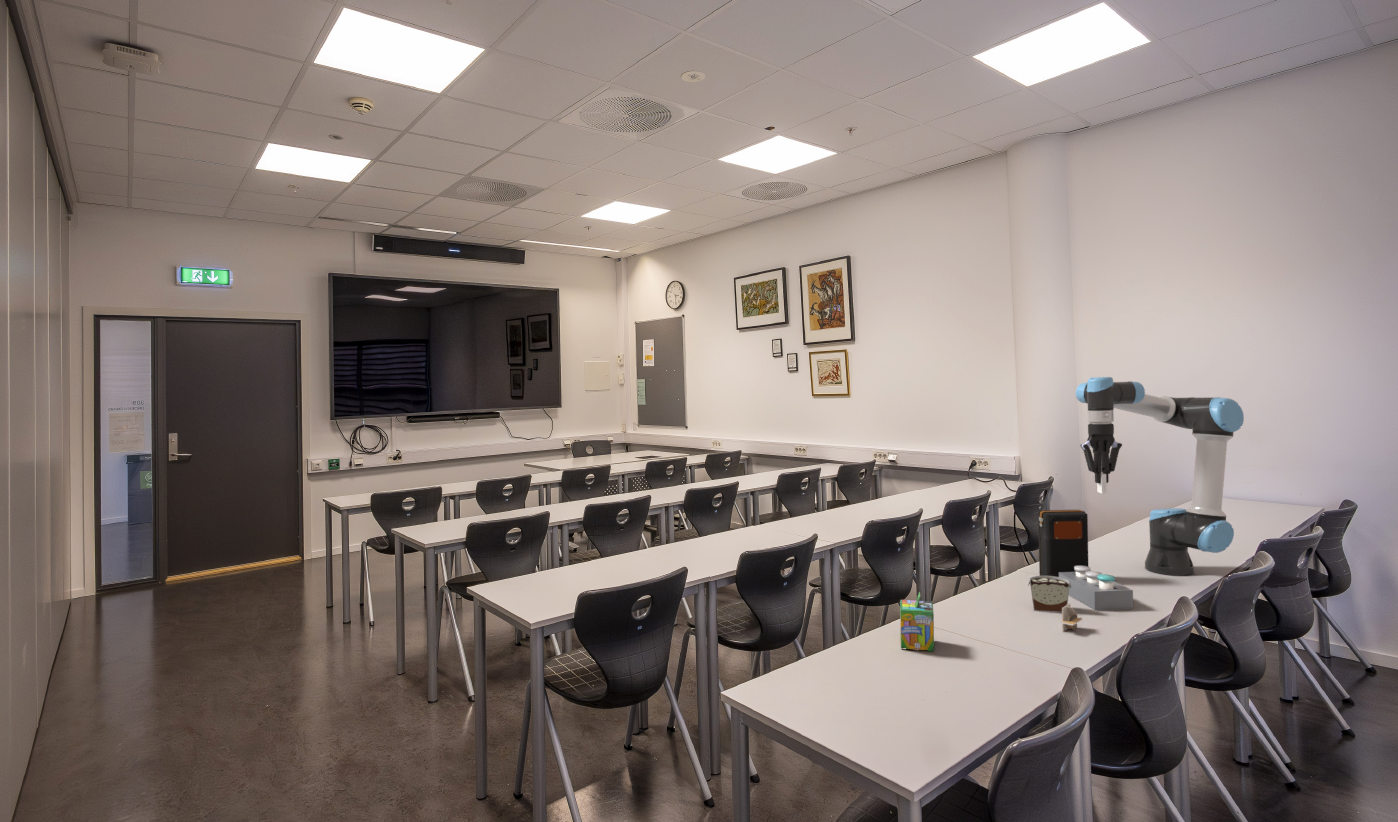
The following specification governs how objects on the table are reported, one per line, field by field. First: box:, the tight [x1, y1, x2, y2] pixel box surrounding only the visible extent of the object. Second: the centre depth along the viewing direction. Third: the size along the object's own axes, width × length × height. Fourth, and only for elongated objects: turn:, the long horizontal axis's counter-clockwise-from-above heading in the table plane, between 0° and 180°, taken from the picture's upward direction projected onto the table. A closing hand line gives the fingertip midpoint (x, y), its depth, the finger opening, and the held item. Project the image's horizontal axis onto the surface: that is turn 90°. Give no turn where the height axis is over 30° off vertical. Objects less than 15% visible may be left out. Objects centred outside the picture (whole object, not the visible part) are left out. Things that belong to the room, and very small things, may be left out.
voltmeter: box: [1037, 509, 1089, 577], centre depth 250 cm, size 16×9×25 cm, turn 84°
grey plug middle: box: [1086, 570, 1103, 583], centre depth 227 cm, size 5×5×8 cm
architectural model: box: [1061, 603, 1083, 633], centre depth 200 cm, size 3×7×7 cm, turn 130°
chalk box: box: [899, 591, 935, 652], centre depth 194 cm, size 9×9×15 cm
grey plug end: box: [1074, 566, 1091, 577], centre depth 234 cm, size 5×5×8 cm
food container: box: [1027, 575, 1071, 614], centre depth 219 cm, size 12×6×10 cm, turn 71°
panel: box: [1059, 572, 1134, 611], centre depth 227 cm, size 12×22×6 cm, turn 179°
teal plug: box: [1097, 573, 1116, 590], centre depth 220 cm, size 5×5×8 cm
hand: (1101, 492), depth 231 cm, fingers closed
